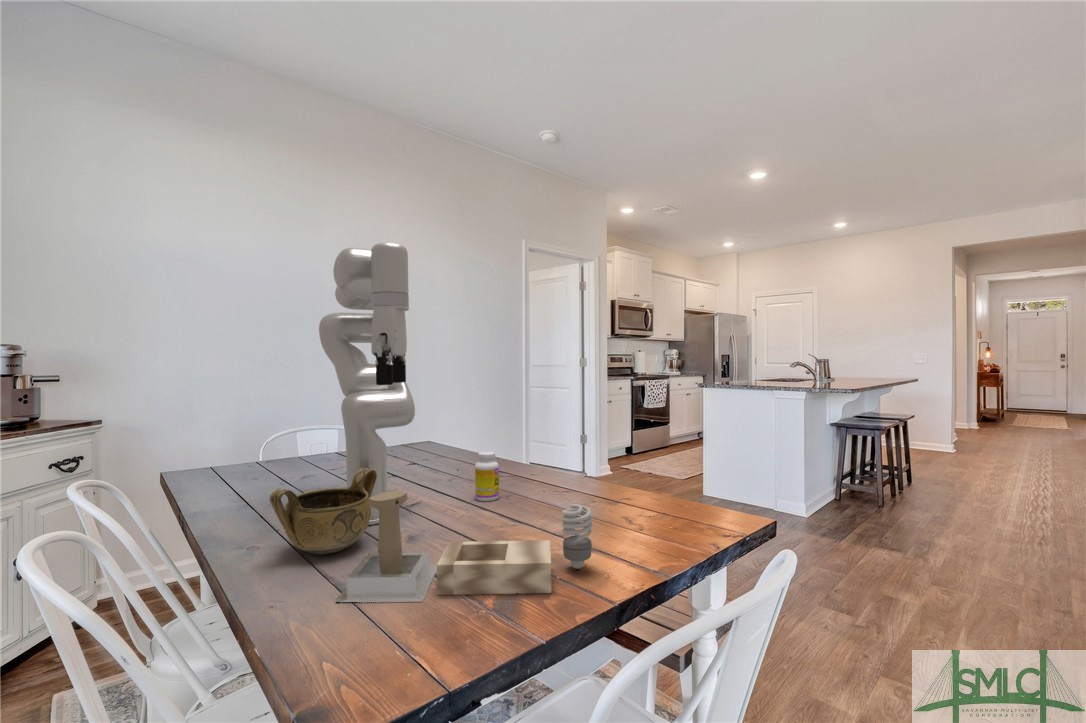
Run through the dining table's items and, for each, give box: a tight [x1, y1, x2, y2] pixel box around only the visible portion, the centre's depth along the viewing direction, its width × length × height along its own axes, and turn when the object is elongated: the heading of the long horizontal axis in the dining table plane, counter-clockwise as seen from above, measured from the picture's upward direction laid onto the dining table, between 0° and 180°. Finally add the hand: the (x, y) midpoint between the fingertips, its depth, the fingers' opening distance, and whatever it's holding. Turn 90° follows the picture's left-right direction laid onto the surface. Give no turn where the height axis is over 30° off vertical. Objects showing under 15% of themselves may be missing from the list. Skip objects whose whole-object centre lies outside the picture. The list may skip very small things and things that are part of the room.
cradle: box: [335, 551, 437, 604], centre depth 87 cm, size 14×13×4 cm
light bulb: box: [561, 503, 593, 570], centre depth 92 cm, size 6×6×12 cm
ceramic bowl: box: [269, 468, 377, 556], centre depth 104 cm, size 22×17×15 cm
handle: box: [370, 490, 408, 574], centre depth 88 cm, size 5×6×15 cm
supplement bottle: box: [474, 451, 500, 502], centre depth 140 cm, size 7×7×13 cm
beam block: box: [436, 539, 552, 596], centre depth 88 cm, size 19×10×5 cm, turn 90°
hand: (391, 383), depth 106 cm, fingers open, 9 cm apart
